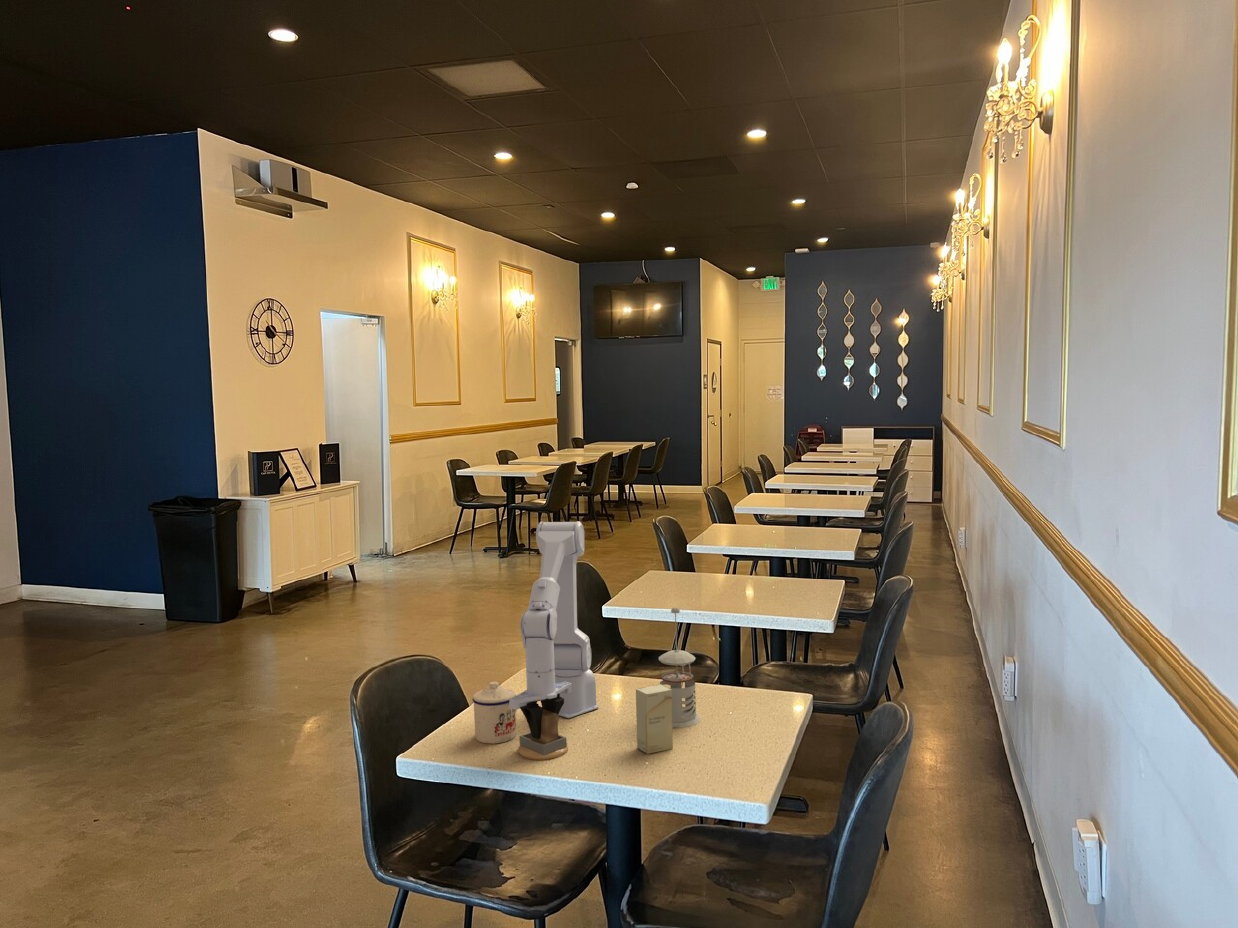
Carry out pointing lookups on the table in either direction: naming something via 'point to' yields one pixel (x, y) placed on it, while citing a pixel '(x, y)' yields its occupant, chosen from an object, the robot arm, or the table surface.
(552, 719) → the brown wooden block
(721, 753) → the table surface
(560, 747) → the grey open box
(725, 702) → the table surface
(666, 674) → the french press
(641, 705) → the skincare box
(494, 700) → the teacup with lid
